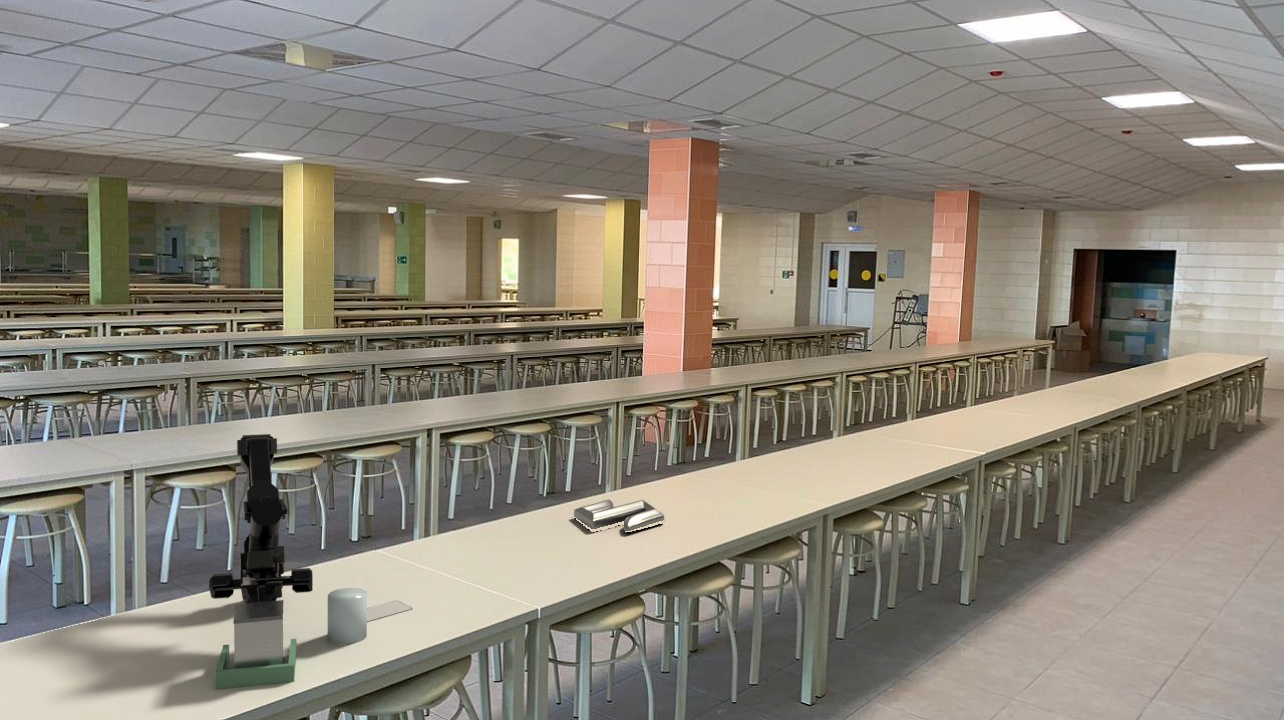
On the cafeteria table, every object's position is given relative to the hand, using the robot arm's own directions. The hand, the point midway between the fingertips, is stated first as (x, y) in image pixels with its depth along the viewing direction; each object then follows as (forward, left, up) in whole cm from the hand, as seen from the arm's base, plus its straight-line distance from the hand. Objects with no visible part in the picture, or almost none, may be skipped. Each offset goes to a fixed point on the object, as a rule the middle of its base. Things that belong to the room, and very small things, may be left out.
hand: (260, 624), depth 176 cm
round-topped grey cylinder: (-5, +16, -6) cm, 18 cm away
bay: (+7, 0, -6) cm, 9 cm away
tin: (+7, 0, -6) cm, 10 cm away
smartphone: (-17, +22, -7) cm, 29 cm away
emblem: (-76, +96, -7) cm, 123 cm away
